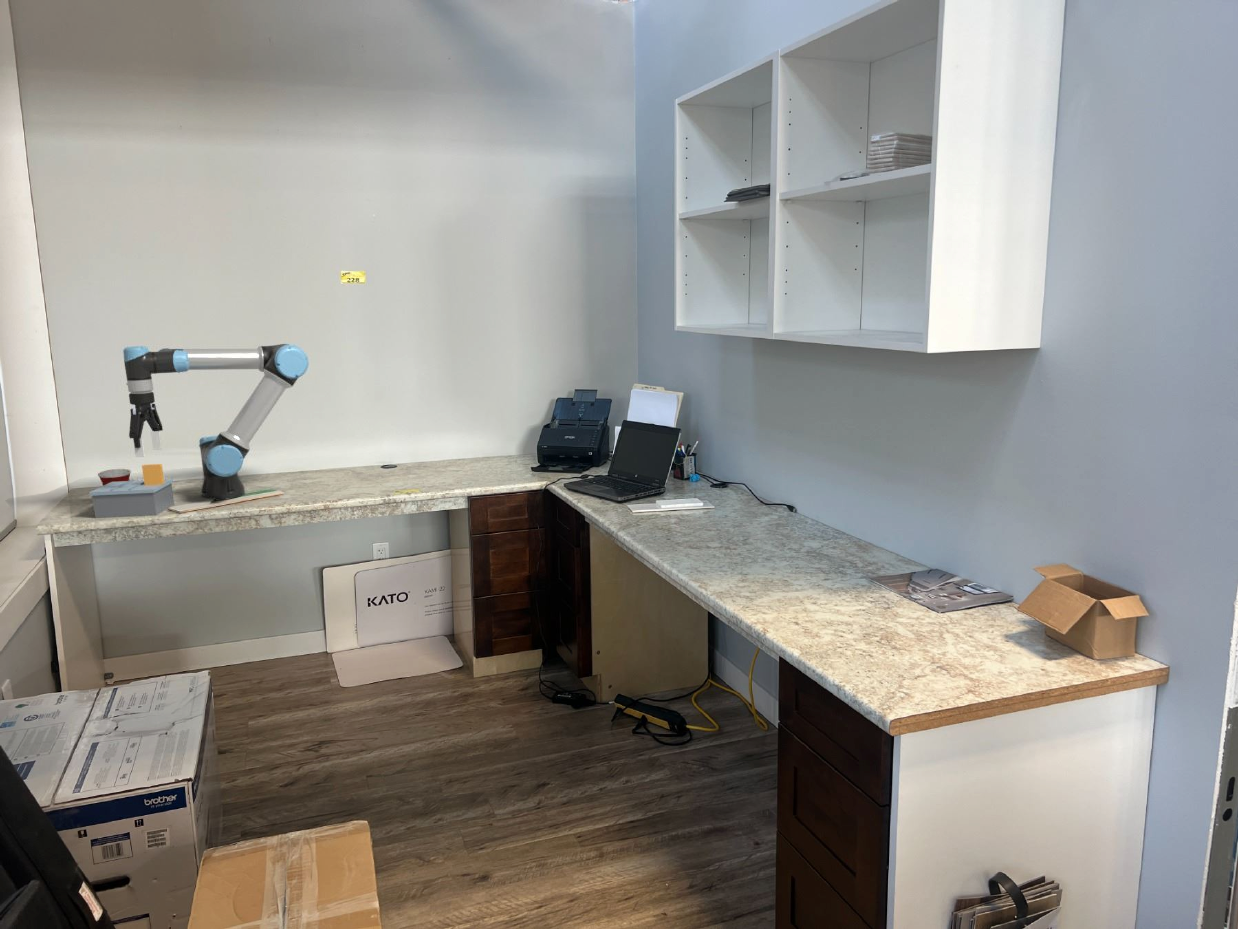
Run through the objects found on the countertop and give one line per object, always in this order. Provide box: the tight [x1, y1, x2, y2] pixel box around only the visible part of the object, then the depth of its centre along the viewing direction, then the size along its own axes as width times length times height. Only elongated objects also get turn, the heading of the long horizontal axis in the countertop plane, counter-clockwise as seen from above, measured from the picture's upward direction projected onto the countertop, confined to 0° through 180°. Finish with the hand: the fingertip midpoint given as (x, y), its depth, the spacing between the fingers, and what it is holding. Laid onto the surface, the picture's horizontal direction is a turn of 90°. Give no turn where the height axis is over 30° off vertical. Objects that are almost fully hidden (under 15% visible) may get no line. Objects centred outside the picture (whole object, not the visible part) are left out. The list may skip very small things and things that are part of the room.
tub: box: [91, 483, 175, 519], centre depth 305 cm, size 20×15×9 cm
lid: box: [88, 463, 174, 497], centre depth 303 cm, size 22×16×8 cm
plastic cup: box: [97, 468, 132, 486], centre depth 321 cm, size 11×11×12 cm
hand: (149, 453), depth 302 cm, fingers open, 13 cm apart
